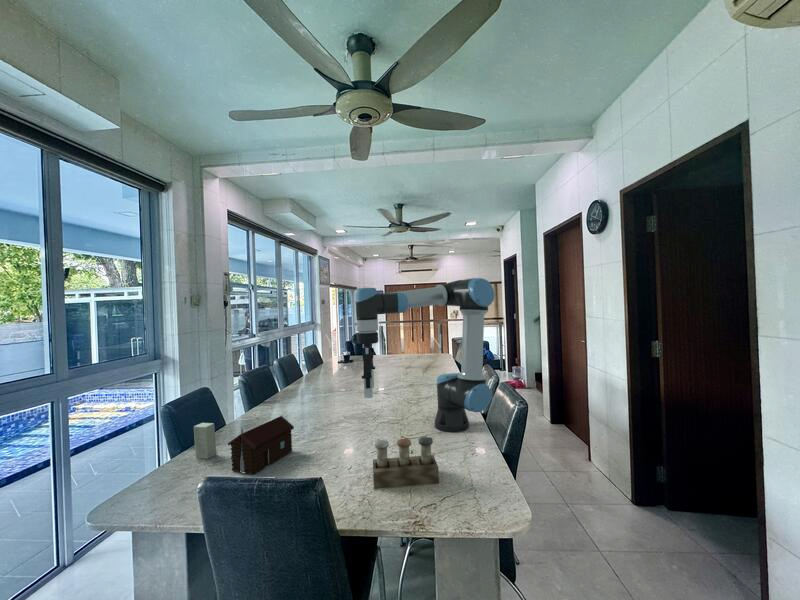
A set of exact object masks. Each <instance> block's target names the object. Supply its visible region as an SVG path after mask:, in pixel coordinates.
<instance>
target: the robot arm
mask: <svg viewBox="0 0 800 600" xmlns="http://www.w3.org/2000/svg"><path fill="white" fill-rule="evenodd" d="M495 296H496V295H495V289H494V286H493V285H492V284H491V283H490V281H489V280H487V279H486V278H482V277H481V278H480V277H473V278H466V279H458V280H454V281H451V282H446V283H441V284H436V286H435V287H427V288H425V287H424V288H418V289H410V290H400V291H393V292H391V291H390V292H384V293H380V292H379V293H378V291H377V288H376V287H358V288H357V289H356V290H355V295H354V297H355V298H354V299H355V300H354V303H355V321H356V322H355V323H354V326H356V331H357V333H356V343H357V344H358V345H363V348H362V350H361V353H362V361H363V375H362V376H361V379H363V390H364V391H363V392H364V393H363V394H364V396H363V397H364V399H371V398H373V397H374V395H373V394H374V393H373V392H374V391H373V389H375V376H374V374H375V373H374V370H376V366H374V351H375V348H374V347H373V344H377V343H378V342H379V333H378V331H379V321H378V317H379V316H378V315H388V314H391V315H392V314H394V315H395V314H404V313H405V312H407V310H410V309H414V308H415V309H417V308H421V307H428V306H429V307H430V306H436V305H438V306H439V307H446V306H447V307H448V306H449V307H459V311H460V313H461V314H462V334H461V336H462V338H461V339H462V340H461V367H460V368H461V369H460V371H461V372H459V373H457V372H454V373H443V374H440V375H438V376H437V379H436V396H437V411H436V413H435V414H436V415H435V417H434V428H435V429H436V430H439V431H442V432H448V433H457V432H459V433H460V432H463V431H466V430H469V428H470V421H469V418H468V415H467V412H466V411H468V412H471V413H472V412H473V413H481V412H483V411H484V410H486V408H488V406H489V405H490V403H491V401H492V394H493V393H492V390H491V388H490V387H489V385H487V377H486V376H485V375H484V373H483V369H484V368H483V361H484V333H485V332H484V331H485V315H486V314H487V313H488V312H489V306H491V305H492V303H493V302H494V300H495Z"/></svg>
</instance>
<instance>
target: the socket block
mask: <svg viewBox="0 0 800 600" xmlns="http://www.w3.org/2000/svg"><path fill="white" fill-rule="evenodd" d="M409 458H410V466H404V467H400V460H399V457H390V458H389V457H387V461H388V468H378V465H377V458H375V459H374V458H373V459H372V470H373V471H372V476H373V490H376V489H377V490H378V489H387V488H388V489H389V488H400V487H401V488H402V487H412V486H413V487H414V486H423V485H424V486H426V485H438V484H440V475H439V469H440V468H439V466H438V462H437V461H436V459H435V455H434V454H431V461H432V464H430V465H422V462H421V455H417V456H416V455H415V456H409Z"/></svg>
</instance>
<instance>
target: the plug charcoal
mask: <svg viewBox="0 0 800 600" xmlns="http://www.w3.org/2000/svg"><path fill="white" fill-rule="evenodd" d="M418 444H419V445H420V456H421V462H422V465H430V464H432V461H431V455H432V444H433V438H432V437H430V436H423V437H420V438H419V439H418Z"/></svg>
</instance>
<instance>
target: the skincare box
mask: <svg viewBox="0 0 800 600" xmlns="http://www.w3.org/2000/svg"><path fill="white" fill-rule="evenodd" d="M215 428H216V427H215V423H213V422H200V423H198V424H196V425H194V426H193V437H194V451H195V454H194V455H195V458H196V459H205V460H208V459H210V458H212V457H214V456H216V455H217V444H216V432H215V431H216V430H215Z"/></svg>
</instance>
